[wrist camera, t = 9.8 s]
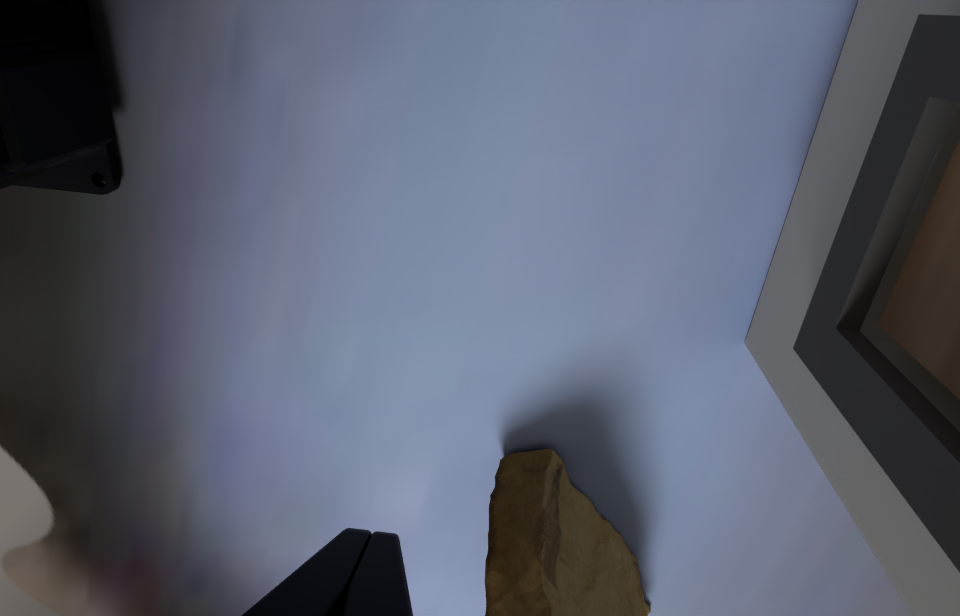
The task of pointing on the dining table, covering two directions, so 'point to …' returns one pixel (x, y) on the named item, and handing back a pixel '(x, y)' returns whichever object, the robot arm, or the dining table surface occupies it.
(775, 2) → the dining table surface
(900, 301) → the peg
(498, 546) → the rock
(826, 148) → the off-white upright box
